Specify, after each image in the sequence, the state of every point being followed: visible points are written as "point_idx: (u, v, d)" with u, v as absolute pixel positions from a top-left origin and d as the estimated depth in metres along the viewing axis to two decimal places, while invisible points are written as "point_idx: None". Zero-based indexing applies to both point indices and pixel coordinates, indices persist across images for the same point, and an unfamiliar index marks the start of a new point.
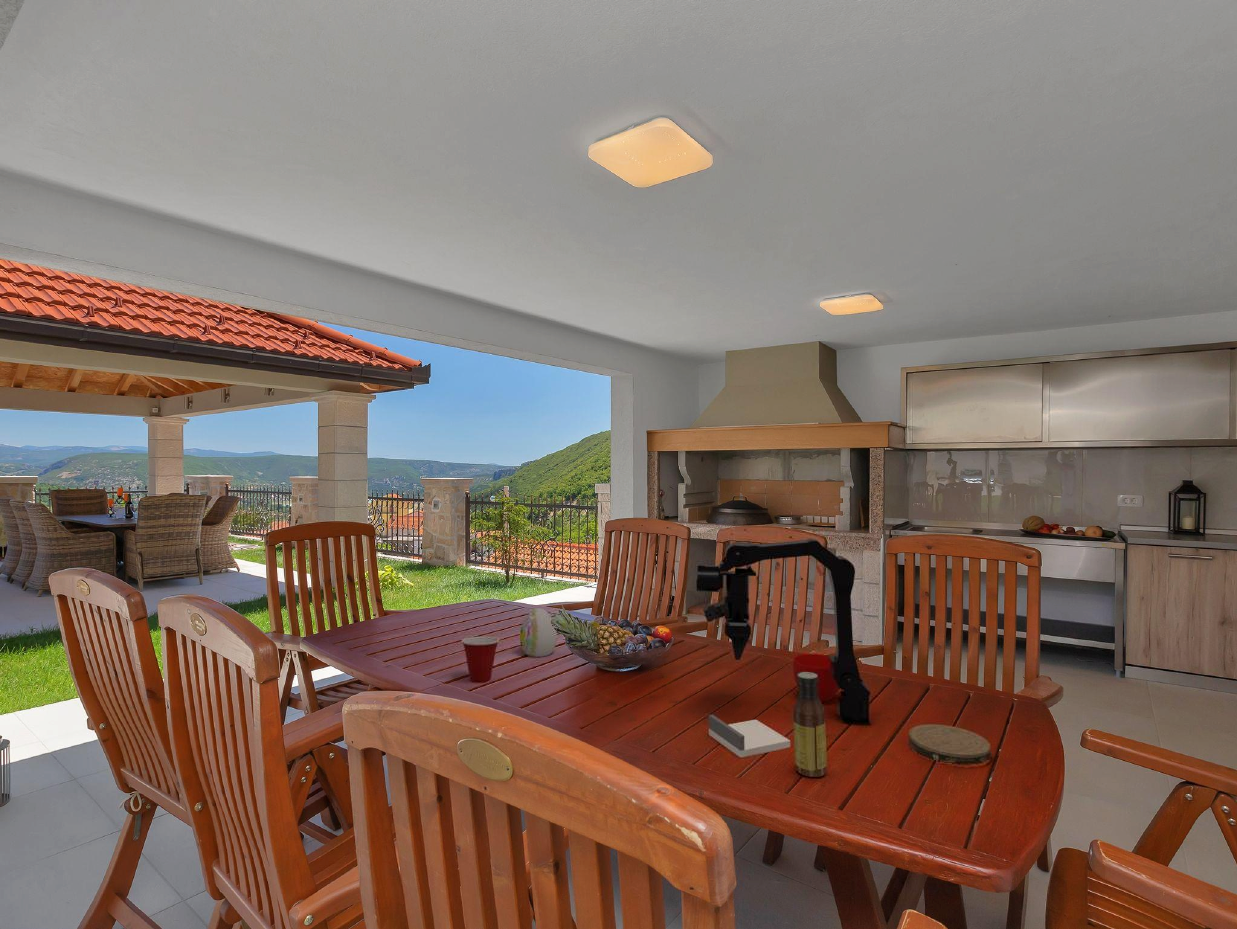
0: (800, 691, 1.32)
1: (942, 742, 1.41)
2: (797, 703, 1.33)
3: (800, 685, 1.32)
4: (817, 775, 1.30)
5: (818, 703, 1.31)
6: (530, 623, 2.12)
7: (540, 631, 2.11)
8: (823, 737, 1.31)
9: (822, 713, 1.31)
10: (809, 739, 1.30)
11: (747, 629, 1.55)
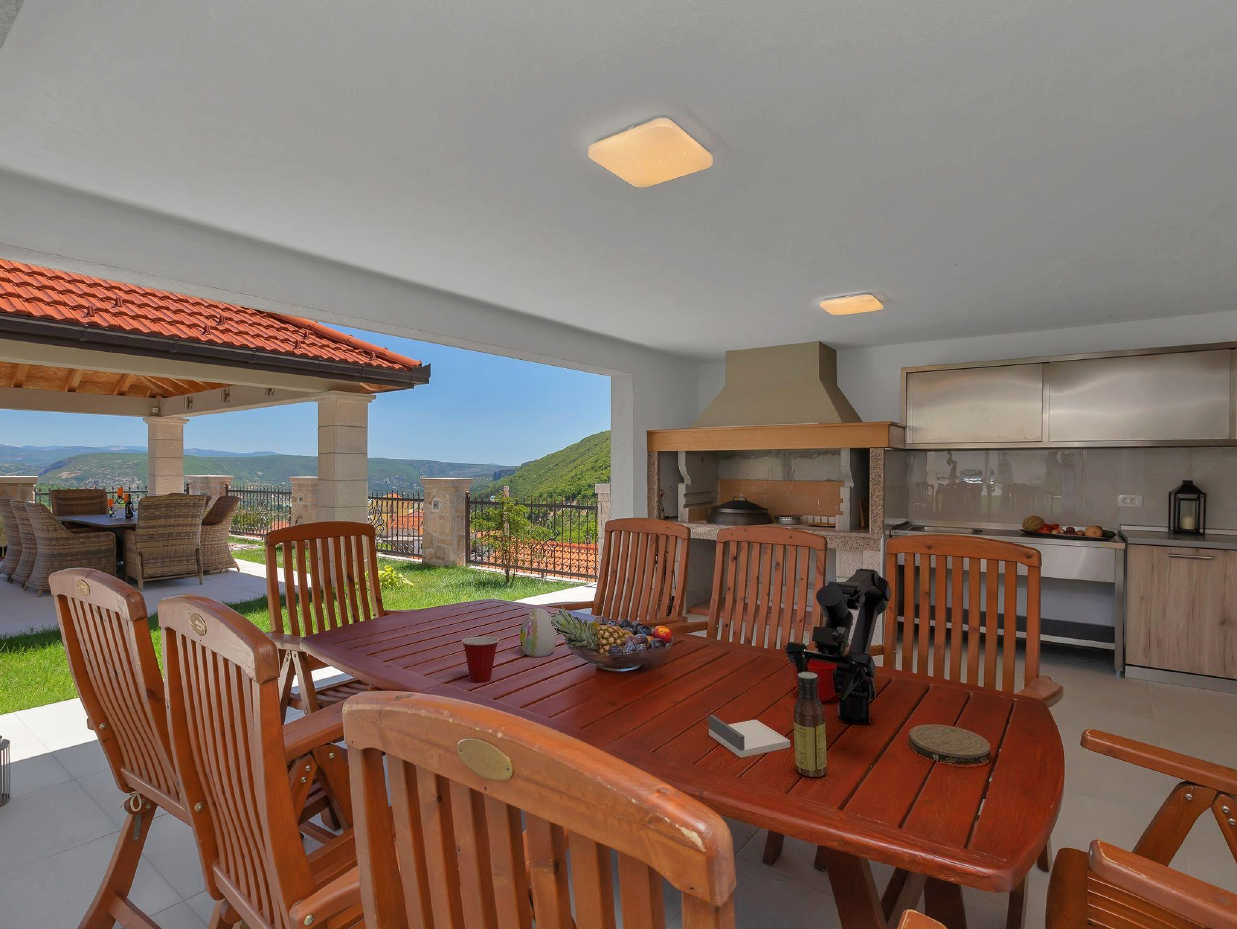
0: (800, 691, 1.32)
1: (942, 742, 1.41)
2: (797, 703, 1.33)
3: (800, 685, 1.32)
4: (817, 775, 1.30)
5: (818, 703, 1.31)
6: (530, 623, 2.12)
7: (540, 631, 2.11)
8: (823, 737, 1.31)
9: (822, 713, 1.31)
10: (809, 739, 1.30)
11: (875, 671, 1.41)
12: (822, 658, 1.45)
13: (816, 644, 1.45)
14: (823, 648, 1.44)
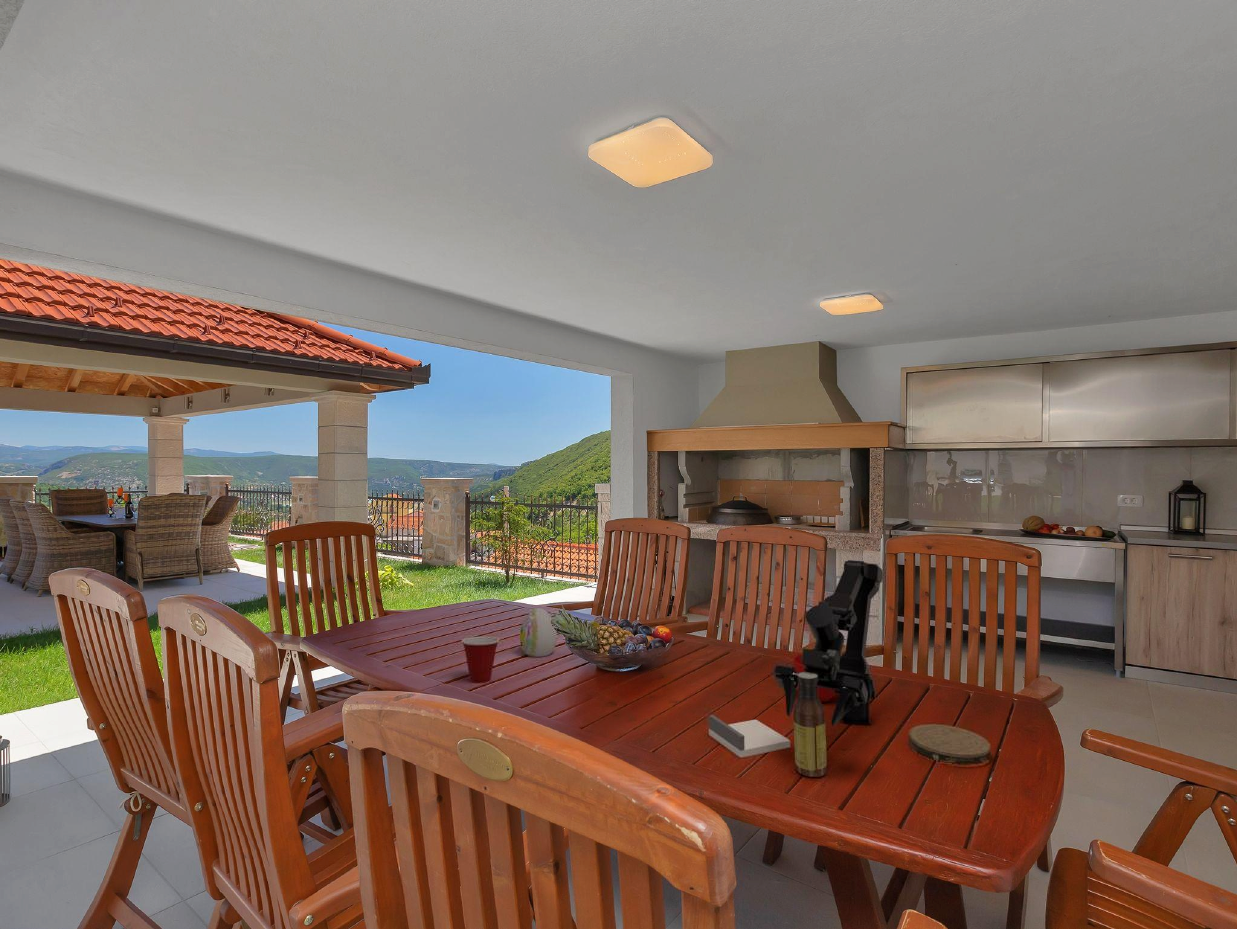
0: (800, 691, 1.32)
1: (942, 742, 1.41)
2: (797, 703, 1.33)
3: (800, 685, 1.32)
4: (817, 775, 1.30)
5: (818, 703, 1.31)
6: (530, 623, 2.12)
7: (540, 631, 2.11)
8: (823, 737, 1.31)
9: (822, 713, 1.31)
10: (809, 739, 1.30)
11: (867, 696, 1.34)
12: None
13: (805, 667, 1.38)
14: (813, 671, 1.38)
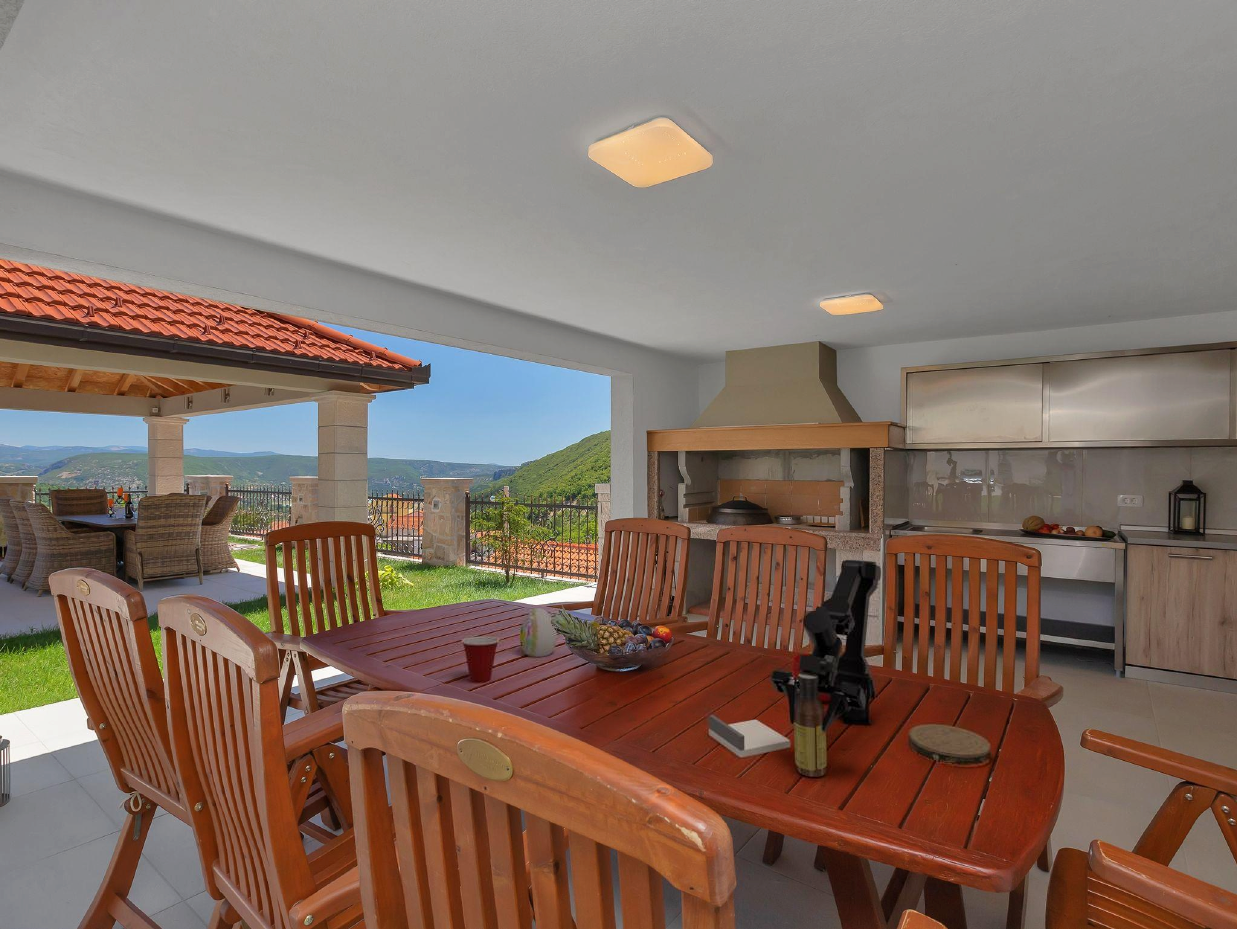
0: (801, 691, 1.32)
1: (942, 742, 1.41)
2: (797, 703, 1.32)
3: (801, 685, 1.32)
4: (817, 775, 1.30)
5: (818, 703, 1.31)
6: (530, 623, 2.12)
7: (540, 631, 2.11)
8: (823, 737, 1.31)
9: (822, 713, 1.31)
10: (809, 739, 1.30)
11: (865, 702, 1.33)
12: None
13: None
14: None
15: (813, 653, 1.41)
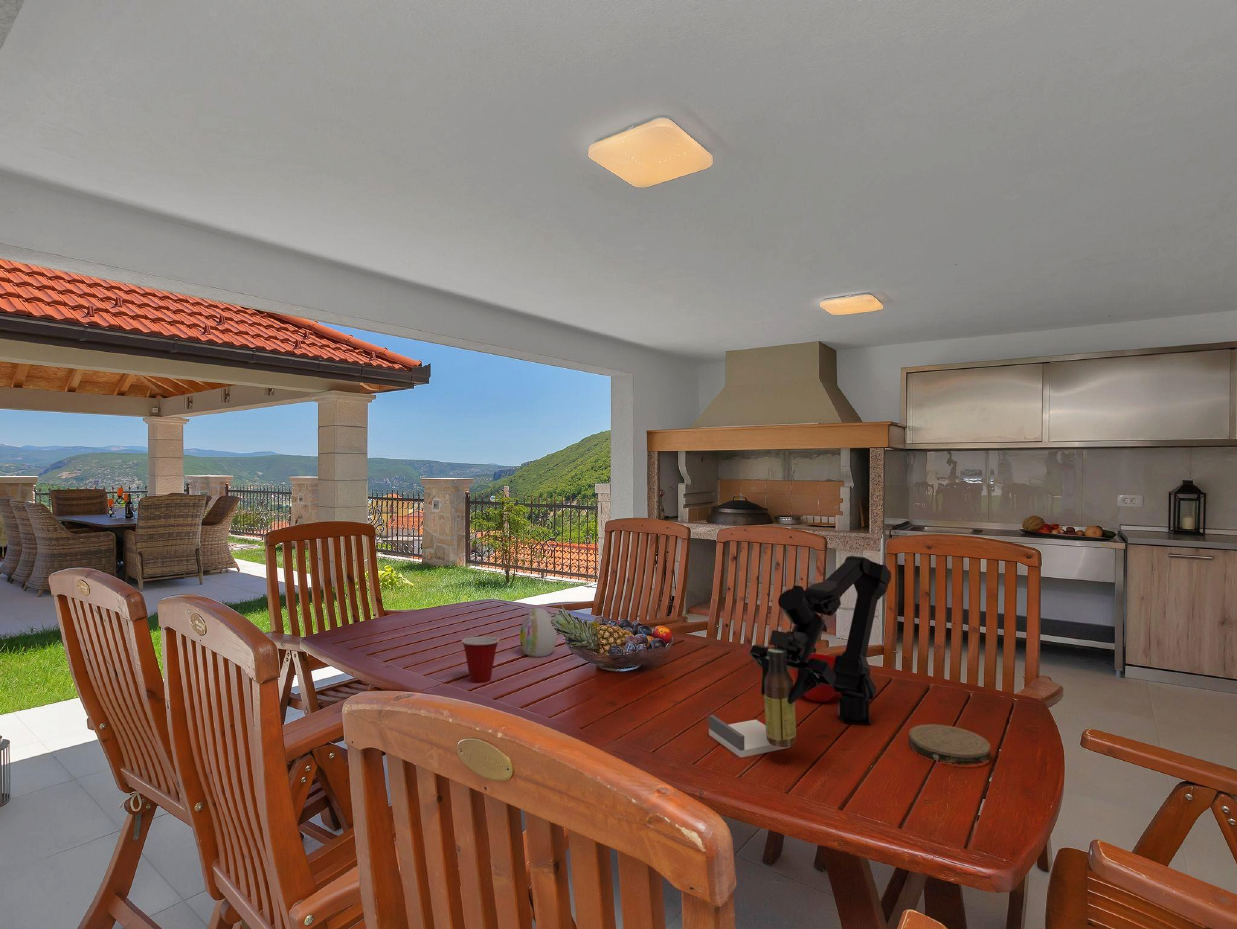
0: (769, 664, 1.38)
1: (942, 742, 1.41)
2: (766, 676, 1.39)
3: (769, 659, 1.38)
4: (783, 745, 1.36)
5: (785, 677, 1.37)
6: (530, 623, 2.12)
7: (540, 631, 2.11)
8: (790, 709, 1.36)
9: (789, 686, 1.36)
10: (775, 710, 1.36)
11: (834, 679, 1.36)
12: None
13: None
14: None
15: (792, 630, 1.45)
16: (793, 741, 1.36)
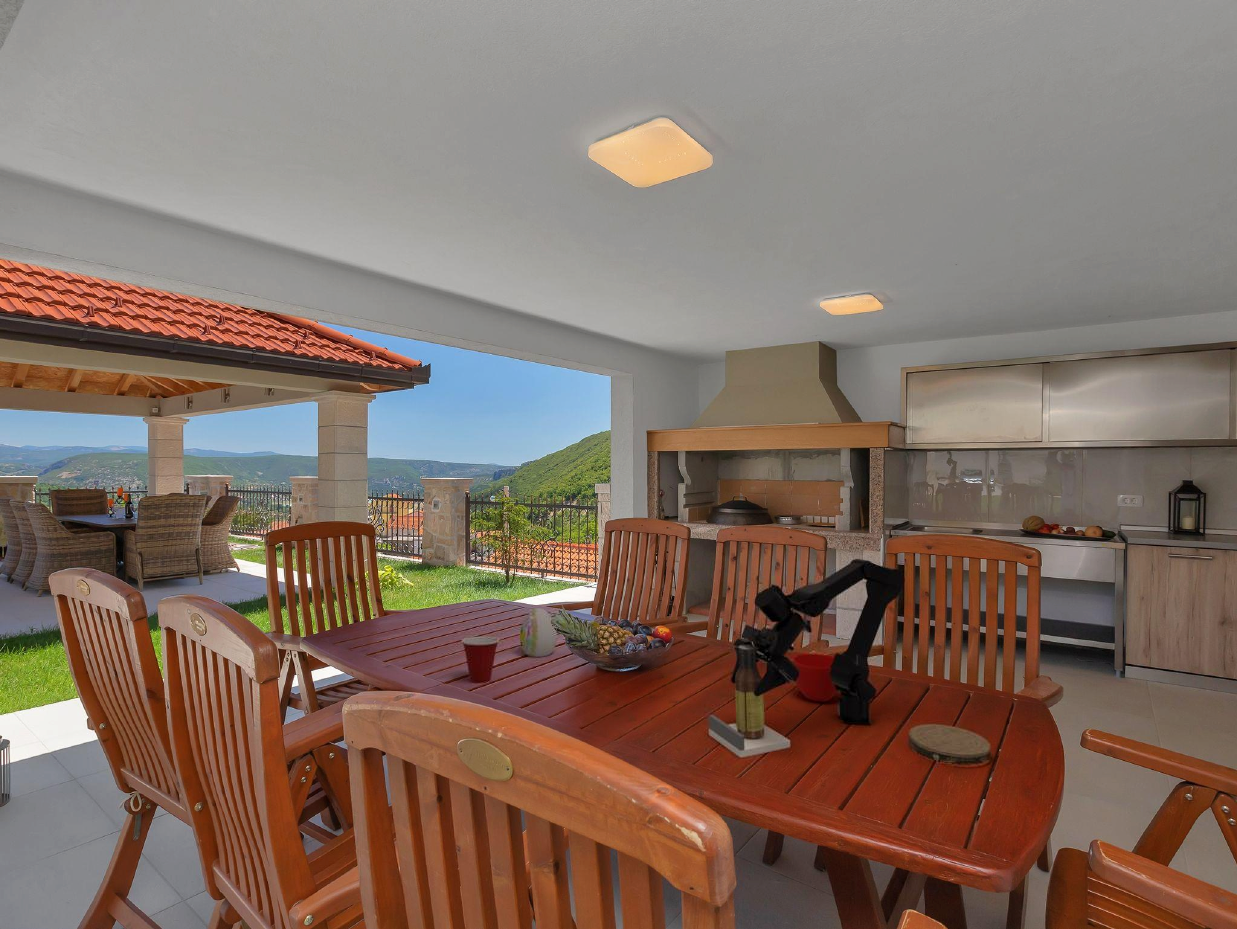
0: (740, 660, 1.48)
1: (942, 742, 1.41)
2: (737, 670, 1.49)
3: None
4: (747, 736, 1.45)
5: (752, 673, 1.46)
6: (530, 623, 2.12)
7: (540, 631, 2.11)
8: (754, 704, 1.45)
9: (754, 682, 1.45)
10: (740, 702, 1.46)
11: (797, 676, 1.42)
12: (759, 657, 1.51)
13: (754, 643, 1.51)
14: (759, 647, 1.50)
15: (772, 628, 1.53)
16: (758, 734, 1.45)
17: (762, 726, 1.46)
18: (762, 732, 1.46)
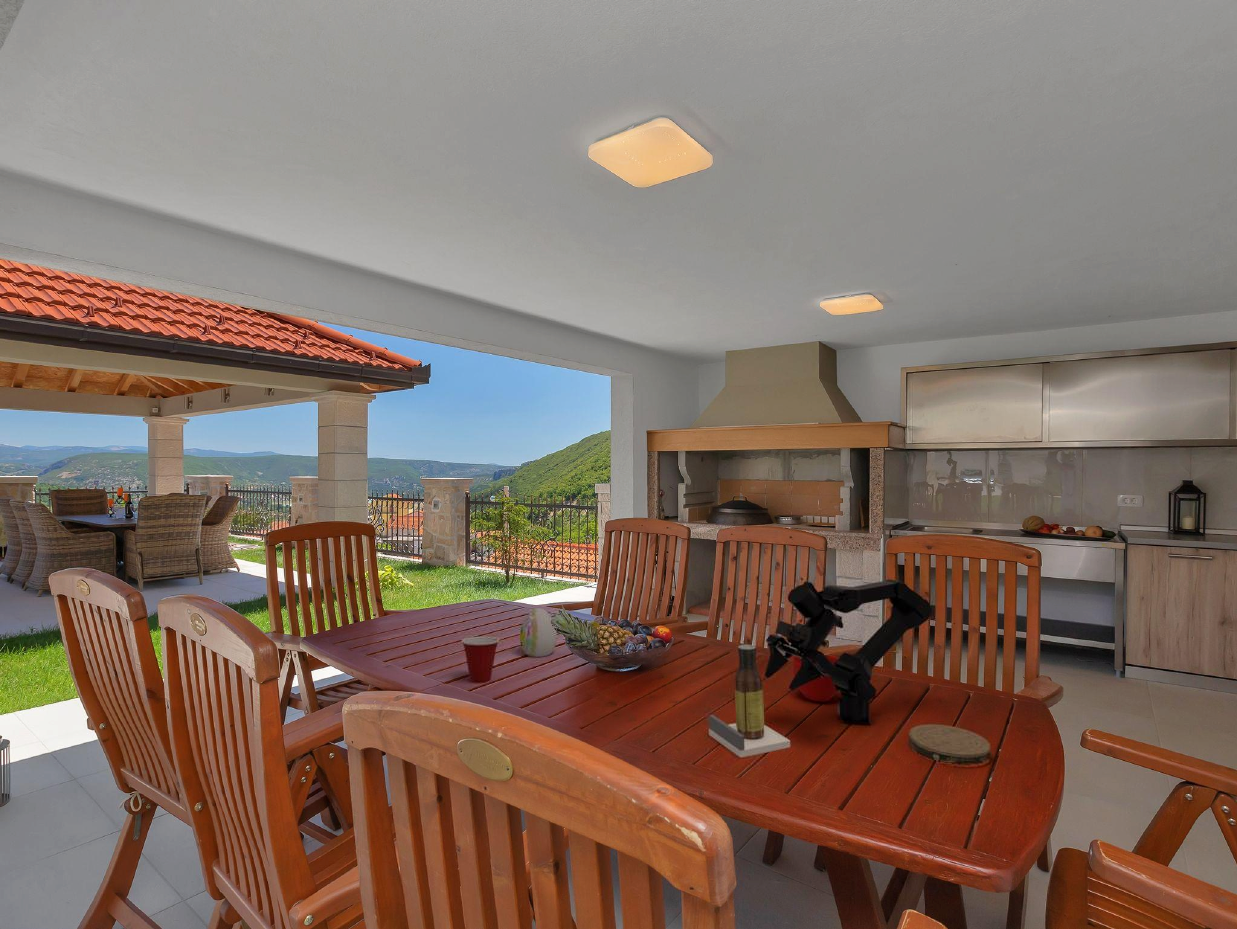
0: (739, 660, 1.48)
1: (942, 742, 1.41)
2: (737, 670, 1.49)
3: (739, 654, 1.48)
4: (747, 736, 1.45)
5: (752, 673, 1.46)
6: (530, 623, 2.12)
7: (540, 631, 2.11)
8: (754, 704, 1.45)
9: (754, 682, 1.45)
10: (740, 703, 1.46)
11: (831, 670, 1.45)
12: (792, 652, 1.54)
13: (787, 638, 1.55)
14: (792, 642, 1.54)
15: None
16: (758, 734, 1.45)
17: (762, 726, 1.46)
18: (762, 732, 1.46)
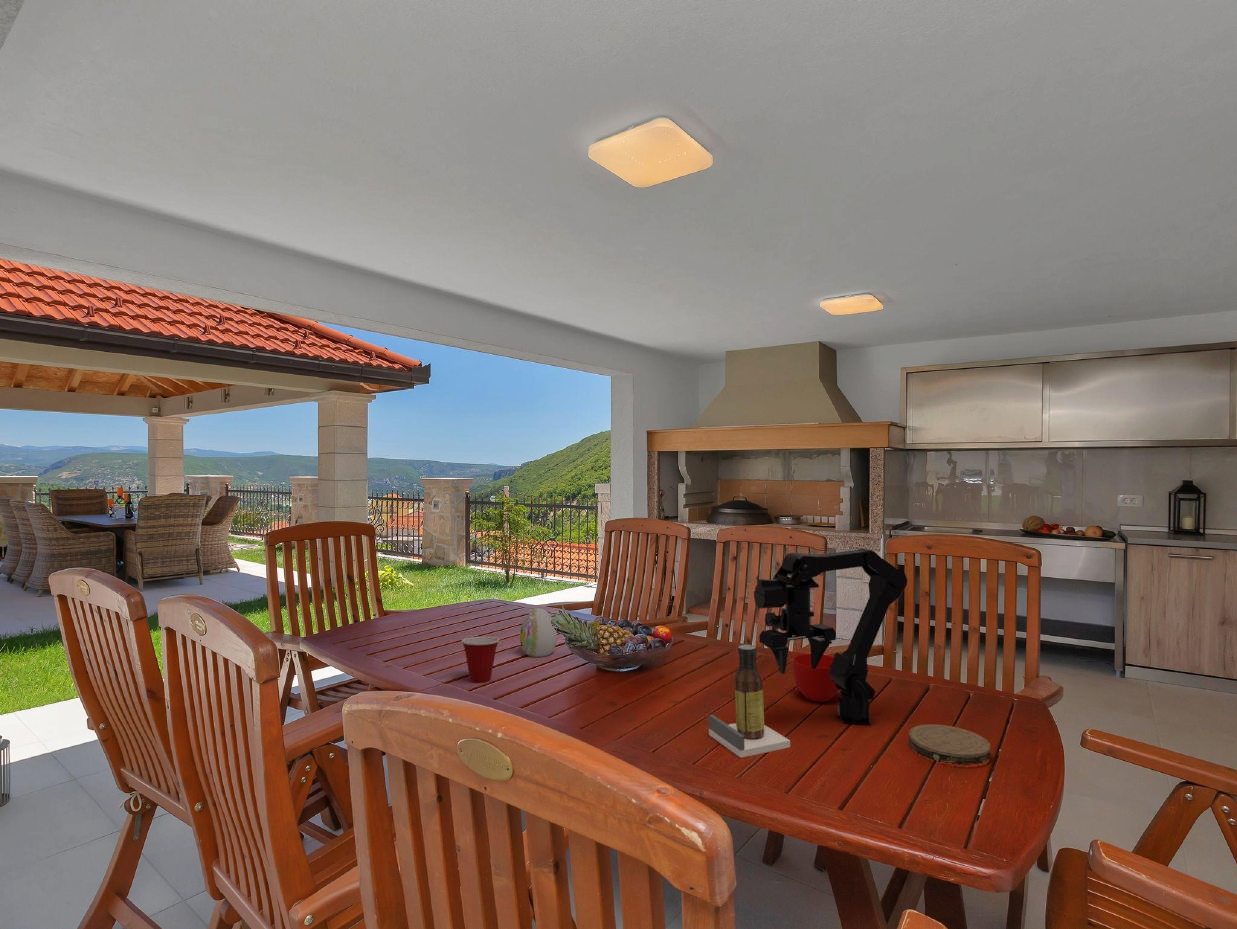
0: (739, 660, 1.48)
1: (942, 742, 1.41)
2: (737, 670, 1.49)
3: (739, 654, 1.48)
4: (747, 736, 1.45)
5: (752, 673, 1.46)
6: (530, 623, 2.12)
7: (540, 631, 2.11)
8: (754, 704, 1.45)
9: (754, 682, 1.45)
10: (740, 703, 1.46)
11: (771, 641, 1.51)
12: None
13: None
14: None
15: None
16: (758, 734, 1.45)
17: (762, 726, 1.46)
18: (762, 732, 1.46)
